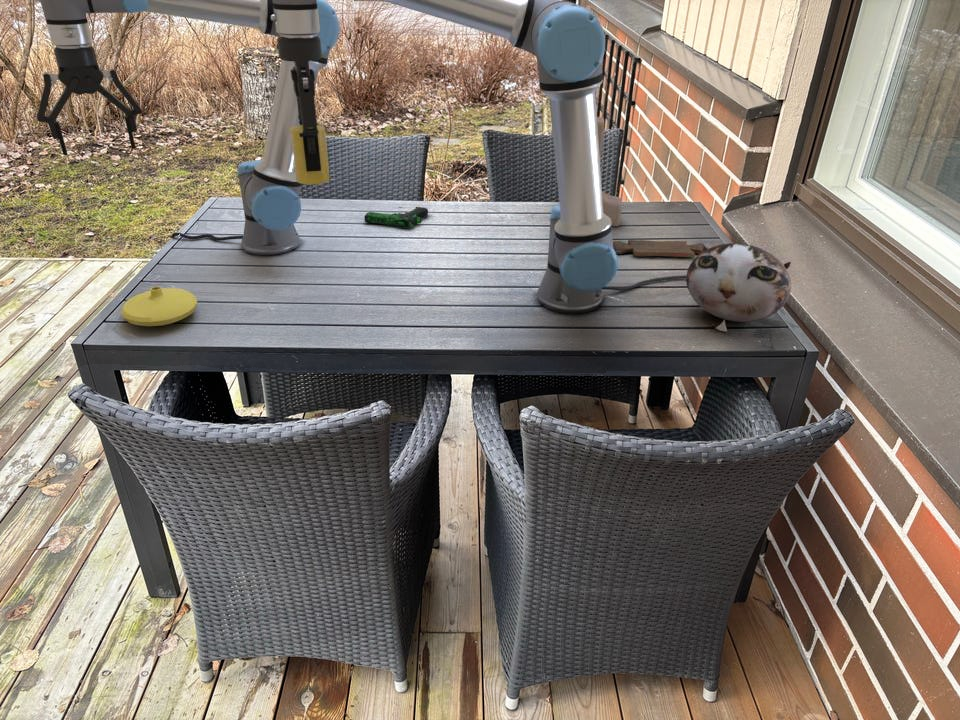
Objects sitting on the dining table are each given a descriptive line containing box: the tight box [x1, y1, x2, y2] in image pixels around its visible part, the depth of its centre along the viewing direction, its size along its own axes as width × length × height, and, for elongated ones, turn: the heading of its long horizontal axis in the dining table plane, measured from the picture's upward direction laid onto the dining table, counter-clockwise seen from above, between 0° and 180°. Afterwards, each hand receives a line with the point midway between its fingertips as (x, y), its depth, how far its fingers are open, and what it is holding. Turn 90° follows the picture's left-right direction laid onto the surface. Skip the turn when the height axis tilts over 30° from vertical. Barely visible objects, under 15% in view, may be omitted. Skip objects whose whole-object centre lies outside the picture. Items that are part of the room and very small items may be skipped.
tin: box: [291, 124, 331, 186], centre depth 137 cm, size 6×6×10 cm
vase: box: [120, 286, 198, 327], centre depth 157 cm, size 16×16×7 cm
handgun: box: [363, 206, 429, 230], centre depth 215 cm, size 16×3×15 cm
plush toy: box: [685, 242, 792, 332], centre depth 158 cm, size 22×18×20 cm
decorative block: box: [597, 116, 623, 227], centre depth 209 cm, size 8×15×30 cm, turn 82°
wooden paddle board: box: [613, 239, 706, 258], centre depth 197 cm, size 26×2×10 cm
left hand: (100, 150), depth 157 cm, fingers open, 13 cm apart
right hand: (312, 165), depth 138 cm, fingers closed on tin, 6 cm apart
